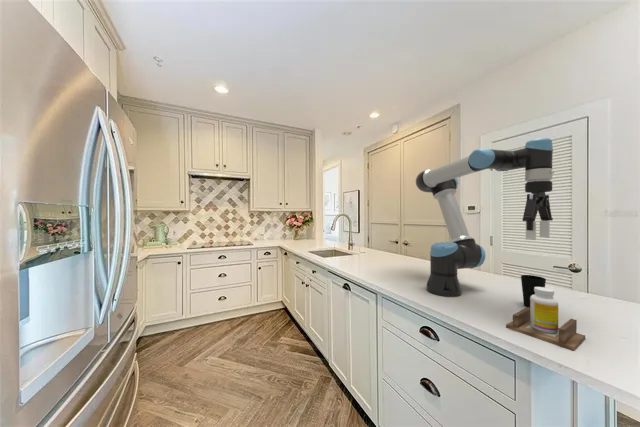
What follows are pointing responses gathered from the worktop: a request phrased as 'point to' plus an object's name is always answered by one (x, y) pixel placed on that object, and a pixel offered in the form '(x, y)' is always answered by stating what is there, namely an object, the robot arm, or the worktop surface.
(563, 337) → the holder
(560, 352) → the worktop surface
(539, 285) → the cup
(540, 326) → the supplement bottle
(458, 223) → the robot arm
